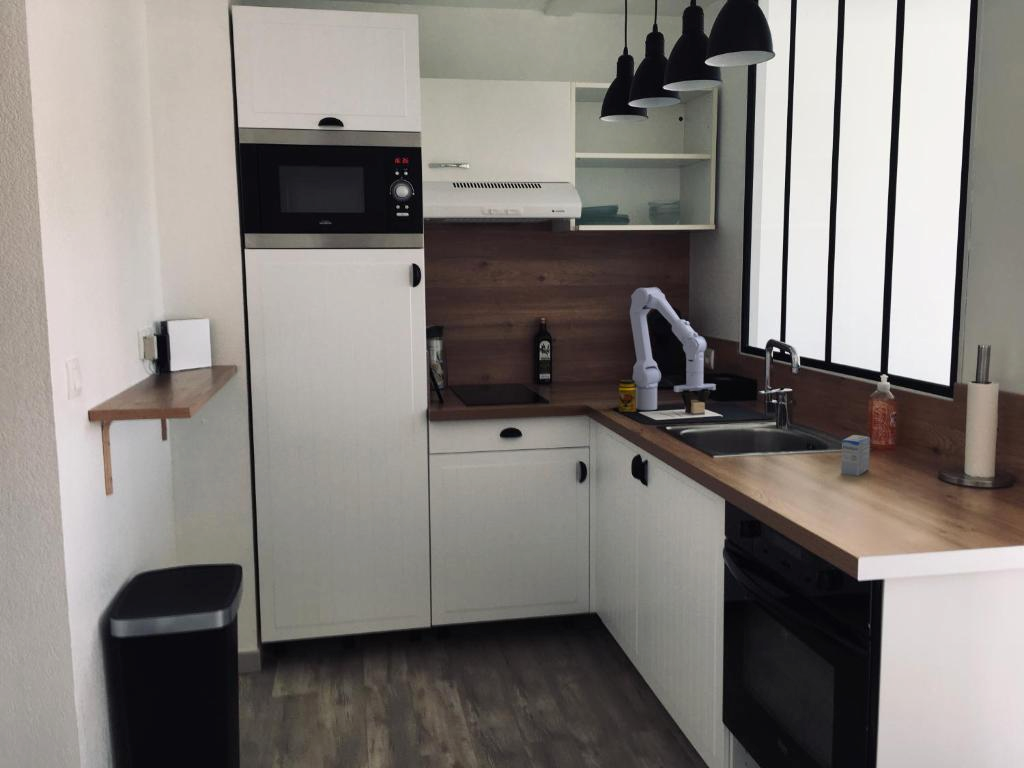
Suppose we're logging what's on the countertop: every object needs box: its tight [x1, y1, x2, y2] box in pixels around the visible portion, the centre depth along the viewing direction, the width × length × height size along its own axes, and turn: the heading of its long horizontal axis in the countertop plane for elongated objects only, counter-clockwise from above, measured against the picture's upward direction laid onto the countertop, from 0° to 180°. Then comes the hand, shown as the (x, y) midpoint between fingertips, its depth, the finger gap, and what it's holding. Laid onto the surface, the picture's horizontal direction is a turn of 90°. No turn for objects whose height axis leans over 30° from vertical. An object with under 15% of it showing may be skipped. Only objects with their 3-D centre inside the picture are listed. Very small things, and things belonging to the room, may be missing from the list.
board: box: [638, 408, 724, 421], centre depth 306 cm, size 16×24×1 cm, turn 103°
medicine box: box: [840, 434, 871, 477], centre depth 223 cm, size 8×4×9 cm, turn 141°
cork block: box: [684, 399, 706, 415], centre depth 306 cm, size 7×4×4 cm, turn 13°
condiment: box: [618, 379, 637, 413], centre depth 316 cm, size 7×8×12 cm
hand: (694, 411), depth 306 cm, fingers closed on cork block, 4 cm apart
